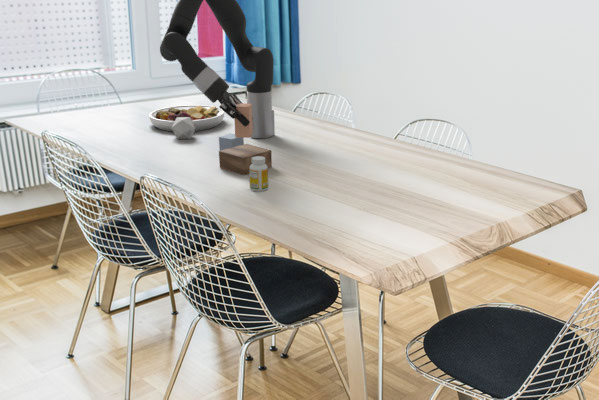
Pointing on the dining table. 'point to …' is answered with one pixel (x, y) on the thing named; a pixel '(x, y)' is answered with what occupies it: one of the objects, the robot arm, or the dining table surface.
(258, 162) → the supplement bottle
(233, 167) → the walnut block
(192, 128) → the die
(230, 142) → the slate cube
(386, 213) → the dining table surface
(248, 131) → the pillar block
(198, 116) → the bowl
